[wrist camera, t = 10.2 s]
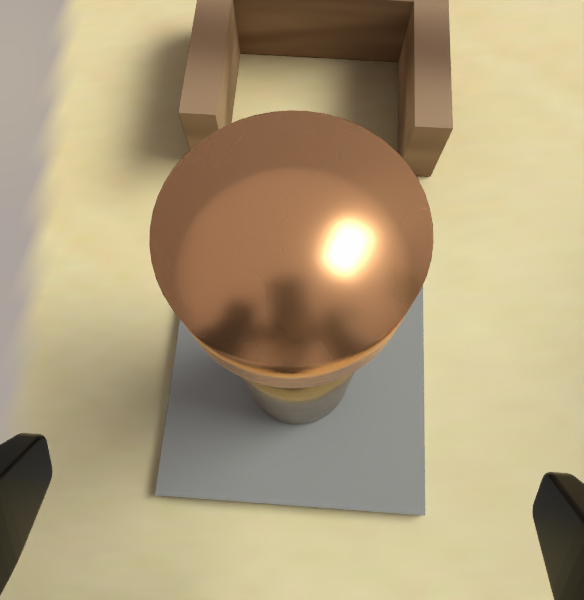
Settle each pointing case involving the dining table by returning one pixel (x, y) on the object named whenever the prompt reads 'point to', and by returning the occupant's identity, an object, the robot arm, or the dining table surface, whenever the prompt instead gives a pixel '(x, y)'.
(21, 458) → the robot arm
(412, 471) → the coaster
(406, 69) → the brown u-shaped block
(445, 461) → the dining table surface
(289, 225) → the copper tall rounded piece
